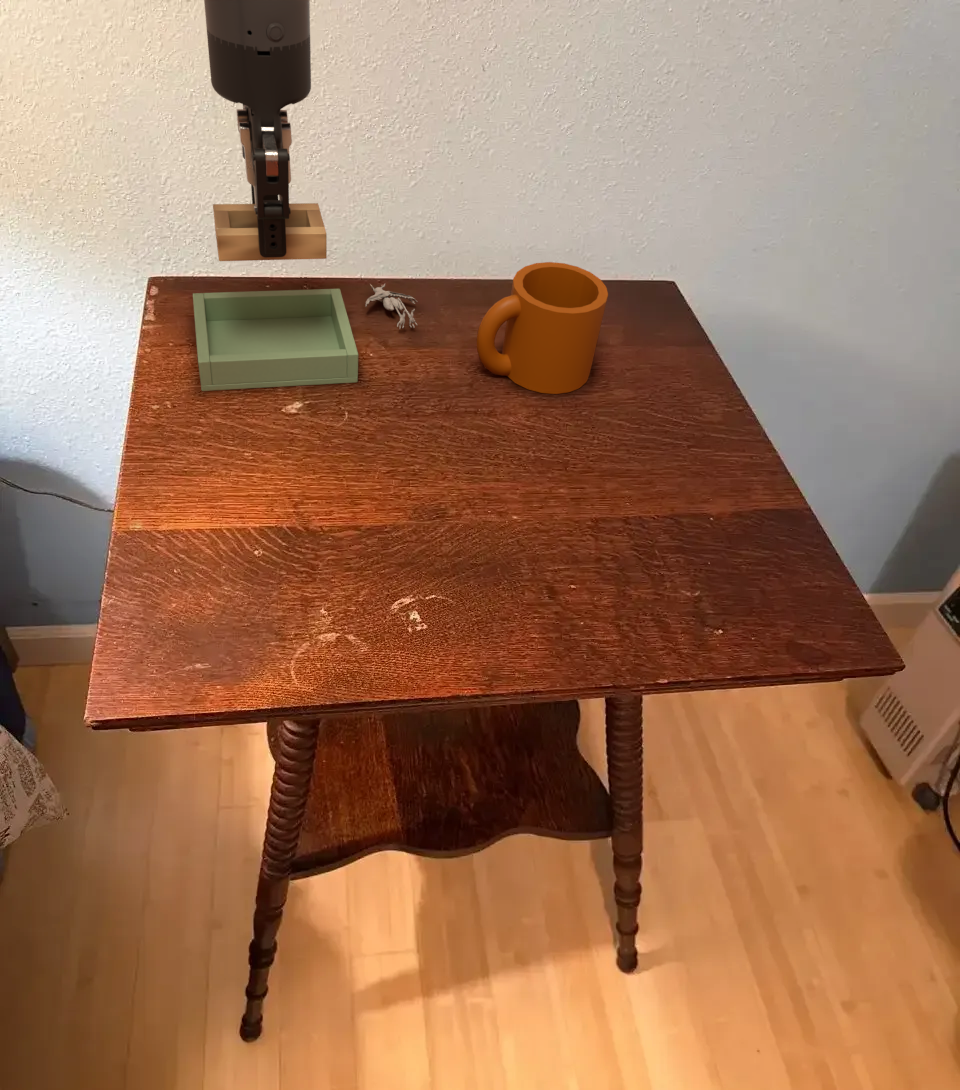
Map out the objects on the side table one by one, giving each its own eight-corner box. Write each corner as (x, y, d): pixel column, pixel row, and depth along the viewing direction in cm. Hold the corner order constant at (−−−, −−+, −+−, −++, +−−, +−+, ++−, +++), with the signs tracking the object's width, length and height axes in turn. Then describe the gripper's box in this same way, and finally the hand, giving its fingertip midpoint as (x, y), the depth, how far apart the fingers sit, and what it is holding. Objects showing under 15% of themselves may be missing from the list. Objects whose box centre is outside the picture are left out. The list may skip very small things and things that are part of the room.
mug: (461, 343, 94) (470, 260, 88) (576, 342, 97) (593, 261, 91) (478, 397, 88) (489, 312, 82) (600, 394, 91) (620, 311, 84)
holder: (201, 391, 84) (198, 362, 82) (195, 321, 92) (192, 293, 90) (357, 382, 88) (358, 354, 86) (339, 315, 96) (339, 288, 93)
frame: (219, 261, 79) (216, 234, 78) (215, 230, 83) (212, 204, 81) (326, 259, 82) (326, 233, 80) (318, 228, 85) (318, 203, 84)
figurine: (433, 327, 95) (401, 295, 100) (436, 307, 94) (403, 276, 99) (380, 331, 93) (349, 298, 98) (382, 311, 91) (351, 279, 96)
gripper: (201, -8, 74) (219, 200, 86) (211, 58, 64) (230, 282, 76) (298, -4, 76) (303, 199, 88) (322, 61, 66) (324, 279, 78)
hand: (269, 237), depth 82 cm, fingers closed on frame, 5 cm apart
